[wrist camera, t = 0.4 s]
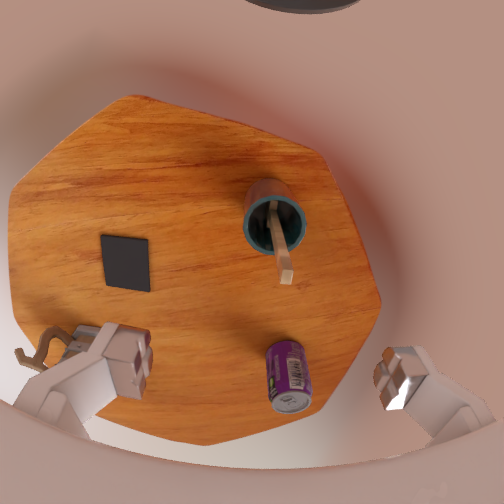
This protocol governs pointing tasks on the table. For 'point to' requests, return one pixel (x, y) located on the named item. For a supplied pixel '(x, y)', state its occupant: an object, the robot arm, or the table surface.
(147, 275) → the mat
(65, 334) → the tankard
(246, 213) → the cup
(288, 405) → the beverage can
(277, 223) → the wooden stir stick
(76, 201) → the table surface
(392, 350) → the robot arm
